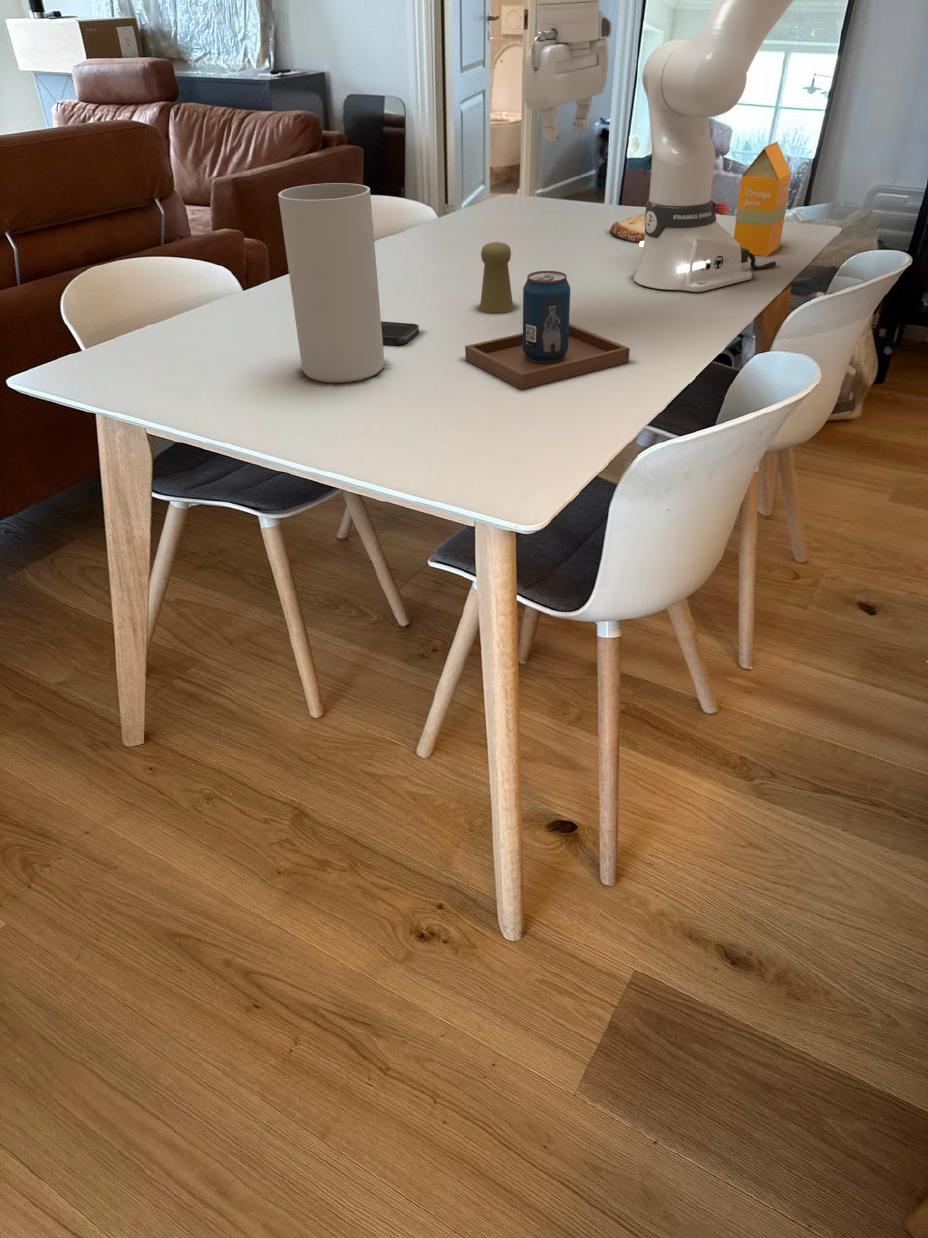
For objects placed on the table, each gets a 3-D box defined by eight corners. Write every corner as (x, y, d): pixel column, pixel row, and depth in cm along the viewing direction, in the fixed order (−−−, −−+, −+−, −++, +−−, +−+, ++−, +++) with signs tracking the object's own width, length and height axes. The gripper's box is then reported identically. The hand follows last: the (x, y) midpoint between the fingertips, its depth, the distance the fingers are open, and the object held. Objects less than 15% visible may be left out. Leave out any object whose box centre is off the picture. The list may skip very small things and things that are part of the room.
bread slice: (700, 244, 196) (702, 226, 194) (617, 247, 197) (618, 228, 194) (685, 226, 211) (687, 209, 209) (607, 229, 211) (608, 211, 209)
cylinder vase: (351, 389, 131) (331, 203, 116) (285, 375, 136) (259, 196, 122) (400, 363, 139) (387, 186, 125) (337, 351, 145) (318, 180, 131)
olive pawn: (510, 313, 159) (510, 247, 153) (476, 312, 160) (475, 247, 154) (515, 303, 164) (515, 239, 158) (483, 302, 165) (481, 239, 159)
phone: (403, 338, 145) (319, 331, 150) (403, 345, 146) (320, 338, 150) (420, 324, 152) (340, 317, 156) (421, 330, 152) (340, 324, 156)
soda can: (543, 346, 142) (544, 266, 135) (577, 355, 138) (580, 274, 131) (513, 357, 138) (513, 276, 131) (547, 367, 134) (549, 284, 127)
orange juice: (780, 246, 193) (797, 141, 181) (767, 256, 187) (784, 147, 175) (744, 243, 196) (758, 139, 185) (730, 252, 190) (744, 145, 179)
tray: (567, 336, 148) (568, 322, 147) (628, 362, 137) (629, 347, 136) (465, 359, 140) (464, 345, 139) (521, 389, 129) (521, 374, 128)
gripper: (553, 31, 121) (553, 146, 129) (617, 22, 135) (612, 126, 143) (512, 32, 124) (514, 145, 132) (578, 23, 138) (576, 125, 146)
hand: (566, 135), depth 137 cm, fingers open, 8 cm apart
